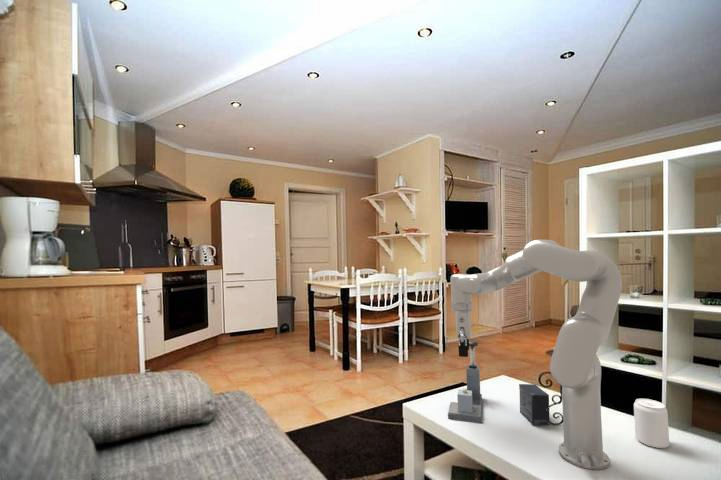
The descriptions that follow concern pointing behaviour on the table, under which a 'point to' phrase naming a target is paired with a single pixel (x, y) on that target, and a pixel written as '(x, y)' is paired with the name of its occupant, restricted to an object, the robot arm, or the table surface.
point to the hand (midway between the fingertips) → (464, 352)
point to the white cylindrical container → (651, 423)
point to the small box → (534, 404)
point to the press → (473, 386)
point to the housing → (465, 400)
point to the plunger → (472, 352)
